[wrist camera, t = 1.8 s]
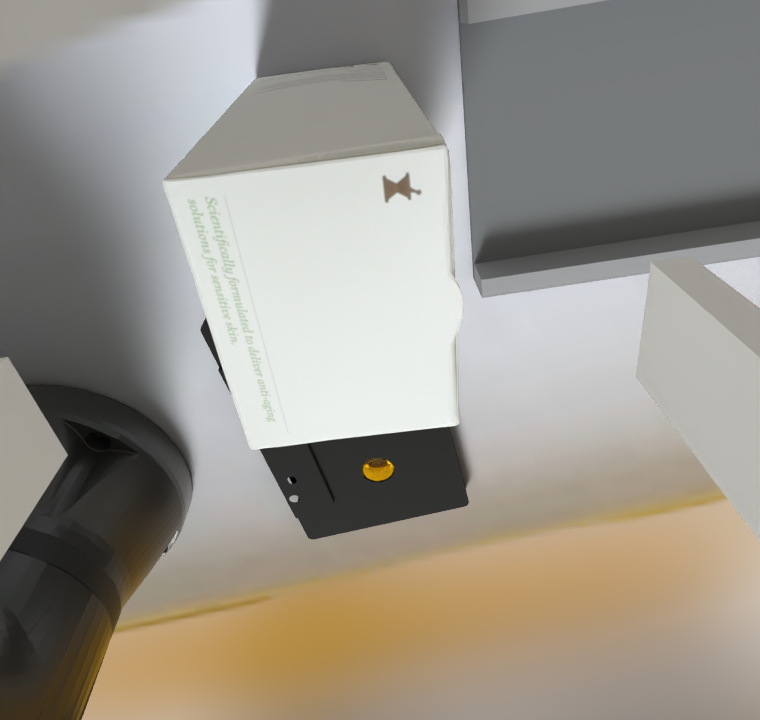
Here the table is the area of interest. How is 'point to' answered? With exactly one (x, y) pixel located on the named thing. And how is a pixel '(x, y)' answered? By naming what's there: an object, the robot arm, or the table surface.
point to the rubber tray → (608, 136)
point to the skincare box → (325, 256)
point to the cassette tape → (365, 476)
